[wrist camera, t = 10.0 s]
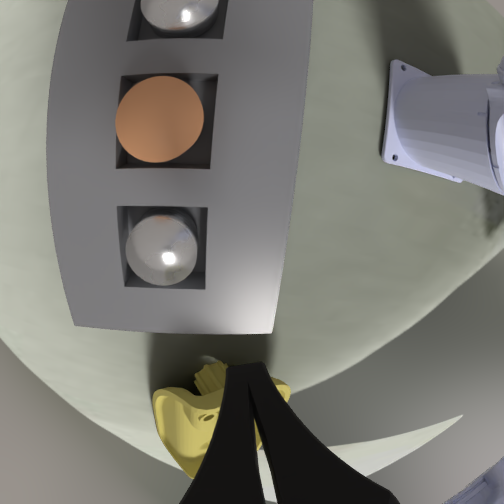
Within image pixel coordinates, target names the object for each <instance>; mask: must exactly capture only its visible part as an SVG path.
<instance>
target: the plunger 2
mask: <svg viewBox="0 0 504 504" xmlns="http://www.w3.org/2000/svg"><path fill="white" fill-rule="evenodd" d="M197 248H198V230H197V227H196V225H195V223H194V221H193V220H192V218H191V217H190V216H189V215H188V214H187V213H186V212H184V211H183V210H181V209H179V208H176V207H172V206H159V207H155V208H153V209H151V210H149V211H147V212H146V213H145V214H144V215H143V216H142V217H141V218H140V220H139V221H138V223H137V224H136V225H135V227H134V228H133V230H132V231H131V233H130V234H129V236H128V239H127V242H126V257H127V261H128V263H129V265H130V267H131V269H132V270H133V271H134V273H135V274H136V275H137V276H139V277H140V278H141V279H143V280H144V281H146V282H149V283H151V284H155V285H161V286H166V285H172V284H176V283H178V282H180V281H182V280H184V279H185V278H186V277H187V276H188V275H189V274H190V273H191V272H192V270H193V268H194V266H195V264H196V260H197Z"/></svg>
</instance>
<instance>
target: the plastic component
mask: <svg viewBox="0 0 504 504" xmlns="http://www.w3.org/2000/svg"><path fill="white" fill-rule="evenodd" d="M228 367H229V366H228V365H227V363H225V364H223V363H222V362H221V361H217V363H213V364H210V365H208V364H206V365H204V368H203V369H202V370H201V371H200V372H197V373H195V377H196V380H195V381H194V383H195V385H196V386H197V388H198V390H199V392H200V393H201V395H202V396H195V395H193V394H192V393H191V392H189V391H188V390H186V389H184V388H176V387H167V388H163V389H159V390H156V391H155V392H154V394H153V410H154V416H155V421H156V427H157V432H158V434H159V437H160V439H161V440H162V442H163V444H164V445H165V447H166V449H167V450H168V451H169V453H170V454H171V455H172V457H173V458H174V459H175V461H176V462H177V463H178V464H179V466H180V467H181V468H182V469H183V471H184V472H185V473H186V474H187V475H188V476H189V477H190V478H192V479H194V477H195V475H196V473H197V471H198V469H199V467H200V465H201V463H202V461H203V458H204V456H205V454H206V451H207V449H208V446H209V443H210V441H211V438H212V435H213V432H214V428H215V425H216V422H217V419H218V415H219V411H220V407H221V402H222V398H223V392H224V386H225V377H226V368H228ZM271 379H272V381H273V382H274V384H275V386H276V387H277V389H278V391H279V392H280V394H281V395H282V397H283V398H284V400H285V401H286V402H287V401H288V399H289V397H290V393H291V390H290V387H289V386H288V385H287V384H285V383H284V382H283V381H281V380H279V379H276V378H273V377H271ZM254 421H255V419H254ZM255 433H256V444H257V451H258V450H259V448H260V447H261V445H262V442H261V439H260V436H259V432H258V429H257V426H256V422H255Z"/></svg>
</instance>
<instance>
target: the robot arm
mask: <svg viewBox="0 0 504 504" xmlns="http://www.w3.org/2000/svg"><path fill="white" fill-rule="evenodd" d="M401 66H402V67H403V70H402V69H401ZM497 73H498V74H459V75H441V76H431V75H429V74H427V73H425V72H423V71H421V70H419V69H417V68H415V67H413V66H411V65H409V64H406V63H404V62H402V61H400V60H397V59H396V60H392V61H391V63H390V80H389V94H388V106H387V116H386V125H385V133H384V141H383V148H382V160H383V161H384V162H386V163H390V164H394V165H398V166H402V167H406V168H410V169H414V170H418V171H422V172H425V173H429V174H432V175H436V176H439V177H442V178H446V179H449V180H452V181H455V182H458V183H461V182H462V180H465V181H468V182H471V183H473V184H476V185H479V186H481V187H484V188H486V189H489V190H491V191H494V192H496V193H498V194H501V195H503V196H504V56H503V57H502V60H501V62H500V64H499V65H498V67H497ZM393 155H395V158H394V160H393V159H392V156H393ZM254 419H255V421H254ZM255 422H256V426H257V429H258V432H259V436H260V439H261V442H262V445H263V448H264V452H265V455H266V458H267V461H268V464H269V468H270V471H271V476H272V480H273V485H274V489H275V494H276V498H277V503H278V504H400V503H399V501H398V500H397V498H396V497H395V496H394V495H393V494H392V493H391V492H390V491H389V490H388V489H386V488H384V487H382V486H380V485H378V484H377V483H375V482H373V481H372V480H370V479H368V478H366V477H365V476H363V475H362V474H360V473H359V472H357V471H356V470H354V469H353V468H352V467H350V466H349V465H348V464H346V463H345V462H344V461H343V460H341V459H340V458H339V457H337V456H336V455H335V454H334V453H332V452H331V451H330V450H329V449H328V448H327V447H326V446H325V445H324V444H322V443H321V442H320V441H319V440H318V439H317V438H316V437H315V436H314V435H313V434H312V433H311V432H310V431H309V429H308V428H307V427H306V426H305V425H304V424H303V423H302V421H301V420H300V419H299V418H298V417H297V416H296V414H295V413H294V412H293V410H292V409H291V408H290V406H289V405H288V404H287V402H286V401H285V400H284V398H283V397H282V395H281V394H280V392H279V391H278V389H277V387H276V386H275V384H274V382H273V381H272V379H271V377H270V375H269V373H268V371H267V369H266V366H265V364H264V363H263V362H256V363H250V364H244V365H237V366H230V367H228V368H226V377H225V386H224V392H223V398H222V402H221V407H220V411H219V415H218V419H217V422H216V425H215V428H214V432H213V435H212V438H211V441H210V443H209V446H208V449H207V451H206V454H205V456H204V458H203V461H202V463H201V465H200V467H199V469H198V471H197V473H196V475H195V477H194V479H193V481H192V483H191V485H190V487H189V488H188V490H187V492H186V493H185V495H184V497H183V498H182V500H181V502H180V503H179V504H266V503H265V498H264V493H263V488H262V484H261V479H260V473H259V466H258V455H257V444H256V433H255ZM442 504H504V457H503V458H501V460H499V461H498V462H497V463H496V464H495V465H493V466H492V467H491V468H489V469H488V470H486V471H485V472H484V473H482V474H481V475H480V476H479V477H477V478H476V479H475V480H473V481H472V482H471V483H469V484H468V485H467V486H466V488H464V489H463V490H462V491H460V492H459V493H457V494H456V495H455V496H453V497H452V498H450V499H449V500H447V501H446V502H444V503H442Z"/></svg>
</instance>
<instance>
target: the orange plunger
mask: <svg viewBox="0 0 504 504" xmlns="http://www.w3.org/2000/svg"><path fill="white" fill-rule="evenodd" d="M203 125H204V111H203V107H202V104H201V101H200V99H199V97H198V95H197V93H196V92H195V91H194V89H193V88H192V87H191V86H190V85H188V84H187V83H185V82H184V81H182V80H180V79H178V78H174V77H170V76H156V77H151V78H148V79H145V80H143V81H141V82H139V83H138V84H136V85H135V86H133V87H132V88H131V89H130V90H129V91H128V92H127V93H126V94H125V96H124V97H123V99H122V100H121V102H120V104H119V107H118V109H117V113H116V119H115V127H116V133H117V136H118V139H119V141H120V143H121V144H122V146H123V147H124V149H125V150H126V151H127V152H128V153H129V154H131V155H132V156H134V157H135V158H137V159H140V160H143V161H146V162H164V161H168V160H171V159H174V158H176V157H178V156H180V155H181V154H183V153H184V152H185V151H186V150H188V149H189V148H190V147H191V146H192V145H193V144H194V143H195V142H196V141H197V139H198V138H199V136H200V134H201V132H202V129H203Z"/></svg>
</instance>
